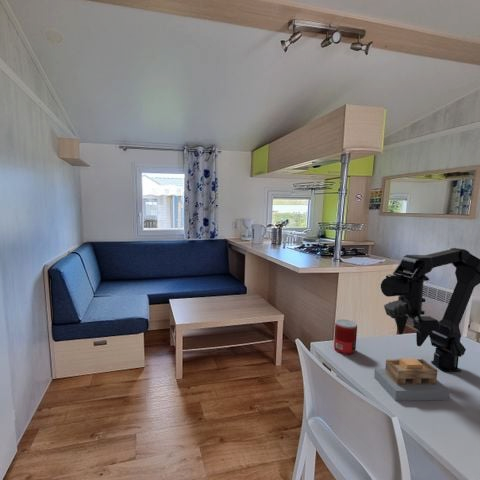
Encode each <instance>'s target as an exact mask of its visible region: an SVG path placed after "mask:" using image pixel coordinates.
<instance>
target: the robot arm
mask: <svg viewBox="0 0 480 480" xmlns="http://www.w3.org/2000/svg"><path fill="white" fill-rule="evenodd" d="M446 265H452V266H453V267H454V268H455V272H454V275H455V277H456V283H455V286H454V289H453V292H452V294H451V296H450V299H449V301H448V304H447V307H446V309H445V311H444V314H443V317H442V318H441V319H440V320H438V319H436V318H434V317H432V316H430V315H429V316H428V315H426V313H425V310H422V308H423V307H422V306H423V303H426V298H425V297H423V295H424V294H423V293H424V281H425V282H426V281H429V280H430V278H429V277H428V276H426V274H429V273H430V272H432V270H433V269H435V268H438V267H442V266H446ZM479 284H480V258H479V257H477V256H475V255H473V254H472V253H471V252H470V251H469V250H467V249H465V248H457V247H452V248H449V249H445V250H442V251H438V252H433V253H428V254H405V255H404V256H403V257H402V259H401V260H400V262H399V263H398V265H397V266H396V267H395V270H393V272H392V274H386V275H385V278H384V279H383V280H382V281H381V283H380V290H381V293H382V294H383V295H384V296H385V297H388V298H389V297H390V298H391V297H398V299H397V300H393V301H391V302H388V303H386V304H384V305H383V307H384V308H383V309H384V311H385V314H386V316H388V317H390V318H392V319H394V321H395V325H396V327H397V332H398V334H399V335H403V334H404V331H405V329H406V324H407V322H408V318H410V319H413V321H412V324H413V326H412V328H413V329H414V330H415V331H416V335H415V337H416V342H415V343H416V346H417V347H421V346H422V345H423V344H424V343H425V341H427V340H426V339H428V338H429V340H430V344H431V346H432V347H434V348H435V352H434V353H433V360H431V361H430V363H431V364H433V365H434V366H435V367H437V369H439V370H441V372H446V373H447V372H461V371H462V369H460V368H459V367H458V365H459V358H460V357H461V358H462V356H465V353H466V350H467V349H466V347H465V346H464V345H463V344H462V342H461V338H462V333H461V330H460V324H461V321H462V320H463V317H464V314H465V311H466V309H467V307H468V303H469V301H470V299H471V296H472V294H473V291H474V289H475V288H476V287H477V286H478V285H479ZM423 315H425V316H423Z"/></svg>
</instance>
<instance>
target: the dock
mask: <svg viewBox="0 0 480 480" xmlns="http://www.w3.org/2000/svg"><path fill="white" fill-rule="evenodd" d="M373 373H374V374H373V379H375V380H376V381H377V382H378V383H379V385H381V386H382V388H383V389H384V390H385V391H386V393H388V394H389V395H390V397H391V398H392V400H394V401H396V402H399V401H401V402H402V401H405V402H406V401H410V402H411V401H449V400H450V392H451V391H450V389H449V388H448V387H446V386H445V385H444V384H443V383H441V382H440V381H439V380H438V379H437V381H436V385H428V384H427V383H426V382H425V381H423V380H422V379H421V385H412V384H411V383H410V382H409V381H408V380H407V379H405V385H397V384H396V383H395V382H394V381H393V380H392V379H391V378H390V377H389V376H388V375H387V374H386V373H385V368H374V372H373Z"/></svg>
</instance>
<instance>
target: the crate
mask: <svg viewBox="0 0 480 480" xmlns="http://www.w3.org/2000/svg"><path fill="white" fill-rule="evenodd" d="M399 359H400V361H399V365H400V366H401V367H402V368H404V369H423V364H422V363H420V362H419V361H418V360H417V359H418V358H414V357H413V358H412V357H411V358H410V357H409V358H408V357H407V358H405V357H404V358H399Z"/></svg>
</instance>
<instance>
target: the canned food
mask: <svg viewBox="0 0 480 480" xmlns="http://www.w3.org/2000/svg"><path fill="white" fill-rule="evenodd" d="M357 334H358V323H356V322H355V321H354V320H349V319H342V318H341V319H336V320H335V324H334V335H333V336H334V338H333V339H334V340H333V341H334V342H333V348H334V350H335V351H336V352H337V353H339V354H343V355H353V354H355V352H356V351H357V349H356V348H357V336H358V335H357Z"/></svg>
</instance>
